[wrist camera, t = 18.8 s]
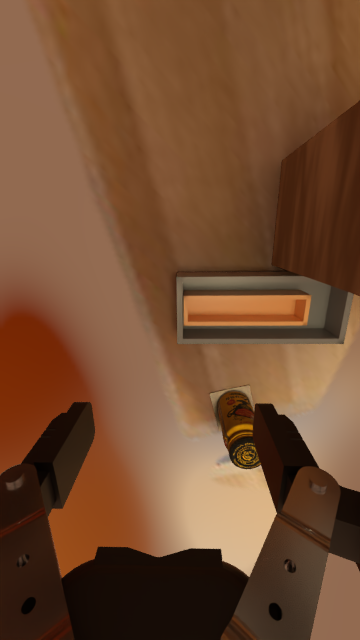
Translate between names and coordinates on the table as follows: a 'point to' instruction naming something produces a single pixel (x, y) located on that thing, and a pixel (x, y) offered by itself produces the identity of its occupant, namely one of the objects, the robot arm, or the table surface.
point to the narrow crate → (246, 307)
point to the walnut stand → (322, 206)
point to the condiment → (237, 424)
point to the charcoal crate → (321, 327)
